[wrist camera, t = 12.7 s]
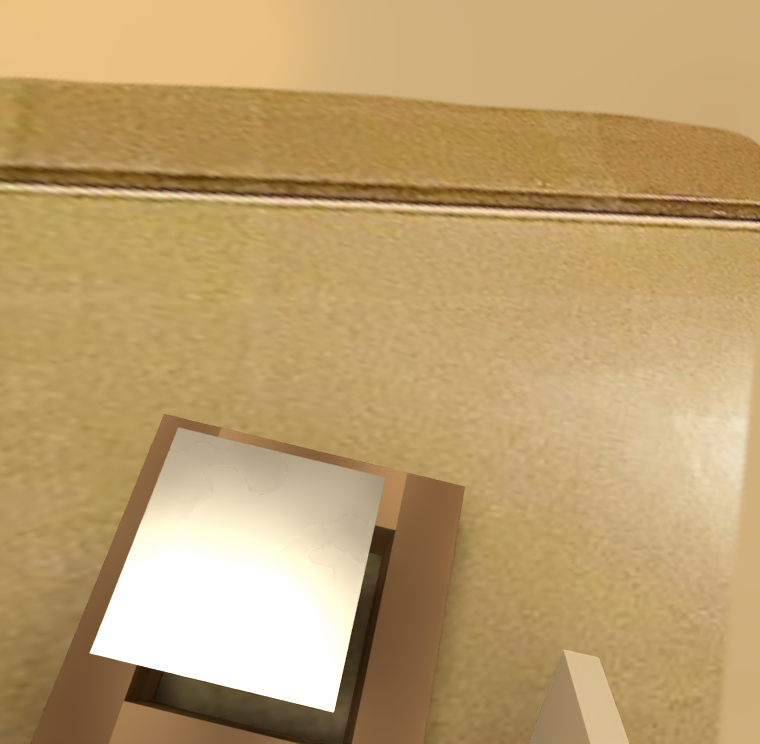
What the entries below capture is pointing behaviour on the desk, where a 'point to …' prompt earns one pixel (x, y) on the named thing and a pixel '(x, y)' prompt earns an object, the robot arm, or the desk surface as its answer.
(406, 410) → the desk surface
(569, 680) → the robot arm
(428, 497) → the wooden slotted frame
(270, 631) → the grey tall rectangular block
